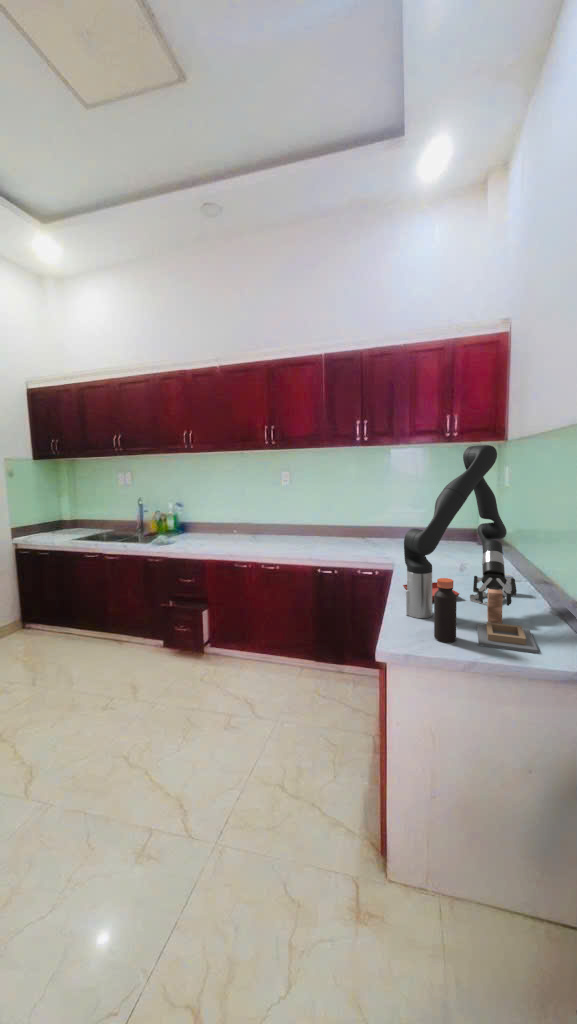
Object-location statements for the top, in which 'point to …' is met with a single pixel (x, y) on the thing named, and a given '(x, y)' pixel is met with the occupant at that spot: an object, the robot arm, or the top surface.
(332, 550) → the top surface
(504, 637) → the socket dock
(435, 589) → the plant saucer
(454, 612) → the bottle
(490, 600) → the terracotta post
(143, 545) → the top surface
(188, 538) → the top surface
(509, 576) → the medicine box
